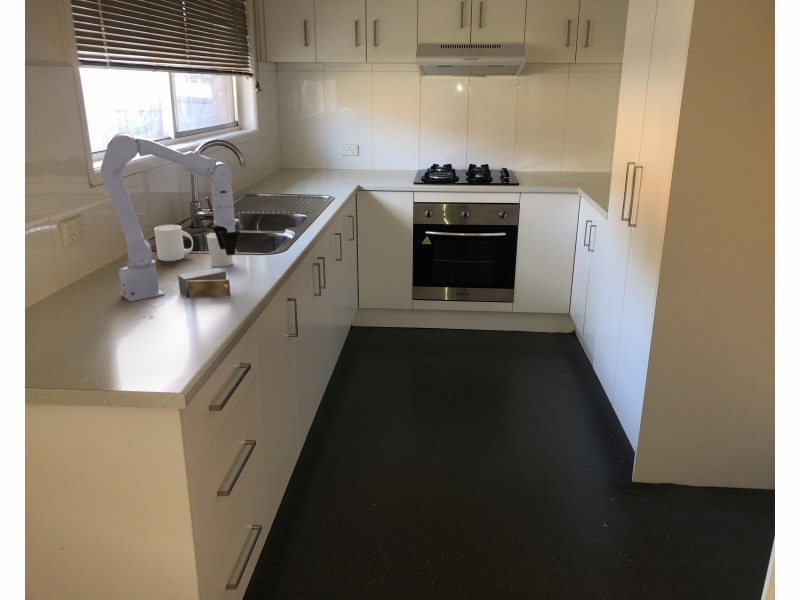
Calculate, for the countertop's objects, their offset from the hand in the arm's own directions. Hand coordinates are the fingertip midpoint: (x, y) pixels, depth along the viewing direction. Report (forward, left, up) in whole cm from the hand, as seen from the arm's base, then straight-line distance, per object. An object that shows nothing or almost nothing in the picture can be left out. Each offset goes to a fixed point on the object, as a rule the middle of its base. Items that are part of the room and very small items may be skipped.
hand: (227, 251), depth 185 cm
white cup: (+7, +22, -10) cm, 26 cm away
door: (-10, -8, -10) cm, 16 cm away
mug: (-1, +39, -10) cm, 41 cm away
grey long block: (-9, -1, -10) cm, 13 cm away
